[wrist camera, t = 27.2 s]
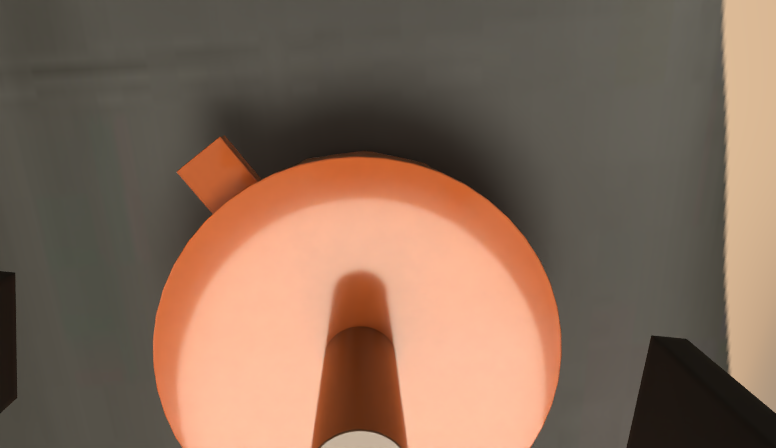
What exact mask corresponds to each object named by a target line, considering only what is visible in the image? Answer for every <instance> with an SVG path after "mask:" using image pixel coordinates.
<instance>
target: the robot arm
mask: <svg viewBox="0 0 776 448" xmlns="http://www.w3.org/2000/svg"><path fill="white" fill-rule="evenodd" d="M16 398H17V359H16V293H15V273H13V272H3V271H0V413H1V412H2V411H3V410H4V409H5V408H6V407H8V406H9V405H10V404H11V403H12V402H13V401H14V400H15V399H16ZM627 448H776V413H775V412H773V411H772V410H771V409H770V408H769V407H767V406H766V405H765V404H764V403H763V402H761V401H760V400H759V399H758V398H757V397H755V396H754V395H753V394H752V393H751V392H749V391H748V390H747V389H746V388H745V387H743V386H742V385H741V384H740V383H738V382H737V381H736V380H735V379H734V378H733V377H731V376H730V375H729V374H728V373H727V372H725V371H724V370H723V369H722V368H721V367H719V366H718V365H717V364H716V363H715V362H713V361H712V360H711V359H710V358H709V357H707V356H706V355H705V354H704V353H703V352H701V351H700V350H699V349H698V348H697V347H696V346H694V345H693V344H692V343H691V342H690V341H688V340H687V339H681V338H671V337H661V336H651V340H650V344H649V349H648V353H647V358H646V362H645V367H644V371H643V376H642V380H641V385H640V389H639V394H638V398H637V403H636V408H635V412H634V417H633V421H632V426H631V430H630V435H629V439H628V444H627Z"/></svg>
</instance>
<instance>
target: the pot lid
mask: <svg viewBox="0 0 776 448" xmlns="http://www.w3.org/2000/svg"><path fill="white" fill-rule="evenodd" d="M560 364H561V327H560V321H559V314H558V308H557V304H556V300H555V297H554V294H553V290H552V287H551V284H550V281H549V279H548V277H547V275H546V273H545V270H544V268H543V266H542V264H541V262H540V260H539V258H538V256H537V255H536V253H535V252H534V250H533V249H532V247H531V245H530V244H529V242H528V241H527V239H526V238H525V236H524V235H523V234H522V233H521V232H520V231H519V229H518V228H517V227H516V226H515V225H514V224H513V222H512V221H511V220H510V219H509V218H508V217H507V216H506V215H505V214H504V213H503V212H501V211H500V210H499V209H498V208H497V207H496V206H495V205H494V204H492V203H491V202H490V201H489V200H488V199H487V198H486V197H484V196H483V195H481V194H480V193H478V192H477V191H475V190H474V189H472V188H471V187H469V186H468V185H466V184H465V183H463V182H461V181H459V180H457V179H455V178H453V177H451V176H449V175H447V174H444V173H442V172H440V171H438V170H435V169H432V168H429V167H426V166H423V165H420V164H417V163H414V162H410V161H404V160H399V159H394V158H389V157H379V156H362V155H354V156H340V157H328V158H323V159H319V160H314V161H309V162H304V163H300V164H297V165H295V166H292V167H289V168H286V169H283V170H280V171H277V172H275V173H273V174H271V175H269V176H267V177H265V178H263V179H261V180H259V181H257V182H255V183H253V184H251V185H250V186H248V187H247V188H245V189H244V190H242V191H241V192H239V193H238V194H236V195H235V196H234V197H232V198H231V199H229V200H228V201H227V202H225V203H224V204H223V205H222V206H221V207H220V208H219V209H218V210H217V211H216V212H214V213H213V214H212V215H211V216H210V217H209V218H208V219H207V220H206V221H205V222H204V223H203V224H202V225H201V227H200V228H199V229H198V230H197V231H196V233H195V234H194V235H193V236H192V237H191V239H190V240H189V241H188V242H187V244H186V246H185V247H184V249H183V251H182V252H181V254H180V255H179V257H178V259H177V260H176V262H175V263H174V265H173V268H172V270H171V272H170V274H169V277H168V279H167V281H166V284H165V286H164V288H163V291H162V295H161V299H160V302H159V306H158V309H157V313H156V320H155V328H154V336H153V365H154V371H155V378H156V384H157V390H158V393H159V396H160V400H161V403H162V406H163V410H164V413H165V415H166V417H167V420H168V422H169V424H170V426H171V428H172V430H173V433H174V435H175V437H176V438H177V440H178V441H179V443H180V445H181V446H182V448H531V446H532V445H533V443H534V441H535V439H536V438H537V436H538V434H539V433H540V431H541V429H542V427H543V425H544V423H545V420H546V418H547V415H548V413H549V411H550V408H551V406H552V403H553V399H554V395H555V391H556V388H557V384H558V380H559V372H560Z"/></svg>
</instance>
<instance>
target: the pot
mask: <svg viewBox="0 0 776 448" xmlns="http://www.w3.org/2000/svg"><path fill="white" fill-rule="evenodd" d="M354 155H362V156H379V157H389V158H394V159H399V160H404V161H410V162H414V163H417V164H420V165H423V166H426V167H429V168H432V167H430V166H429V165H427V164H424V163H422V162H418V161H413V160H408V159H404V158H401V157H396V156H390V155H385V154H380V153H376V152H371V151H359V152H352V153H343V154H334V155H329V156H323V157H316V158H309V159H307V160H304V161H302V162H300V163H304V162H309V161H314V160H319V159H323V158H328V157H340V156H354ZM300 163H298V164H300ZM296 165H297V164H296ZM294 166H295V165H294ZM432 169H433V168H432ZM177 173H178V174H179V175H180V177H181V178H182V179H183V180H184V181H185V182H186V184H187V185H188V186H189V187H190V188H191V189H192V190H193V192H194V193H195V194H196V195H197V196H198V197H199V199H200V200H201V201H202V202H203V203H204V204H205V206H206V207H207V208H208V209H209V210H210V211H211V213H212V214H213V213H214V212H216V211H217V210H218V209H219V208H220V207H221V206H222V205H223V204H224V203H225V202H227V201H228V200H229V199H231V198H232V197H234V196H235V195H236V194H238V193H239V192H241V191H242V190H244V189H245V188H247V187H248V186H250V185H251V184H253V183H255V182H257V181H259V180H261V178H260V177H259V176H258V175H257V174H256V172H255V171H254V170H253V169H252V167H251V166H250V165H249V164H248V163H247V161H246V160H245V159H244V158H243V157H242V155H241V154H240V153H239V152H238V151H237V149H236V148H235V147H234V146H233V145H232V143H231V142H230V141H229V140H228V139H227V137H226V136H225V135H224V136H221V137H219V138H217V139H216V140H215V141H214V142H212V143H211V144H210V145H209V146H208V147H206V148H205V149H204V150H203V151H201V152H200V153H199V154H198V155H196V156H195V157H194V158H193V159H191V160H190V161H189V162H188V163H186V164H185V165H184V166H183V167H182V168H180V169H179V170H178V171H177Z"/></svg>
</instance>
